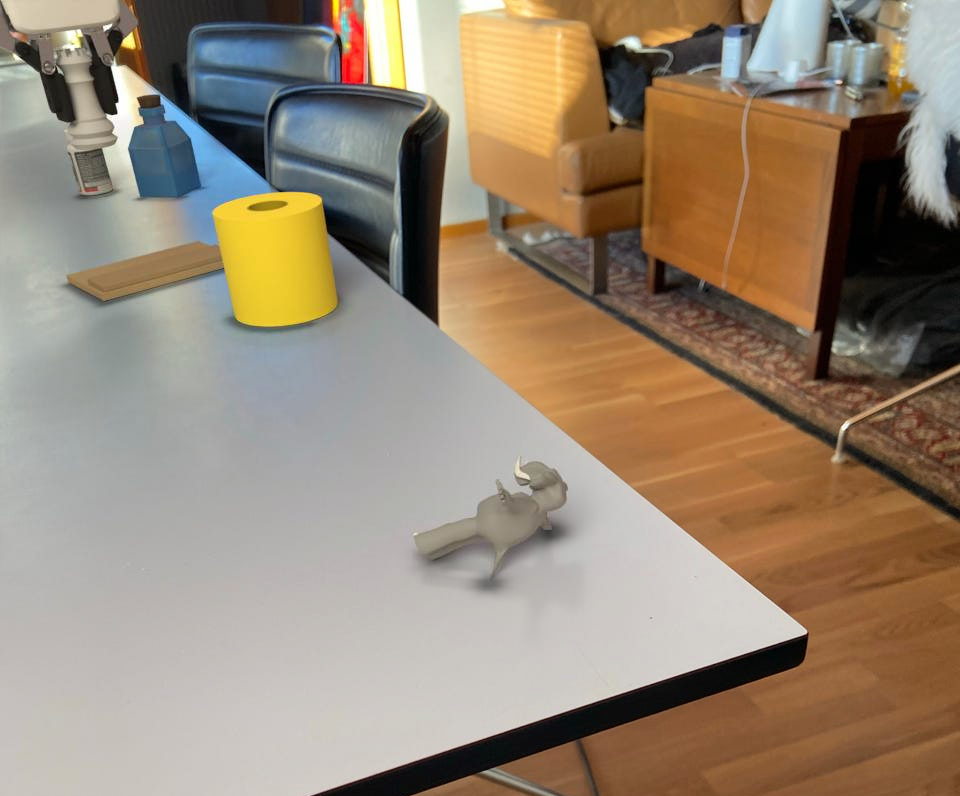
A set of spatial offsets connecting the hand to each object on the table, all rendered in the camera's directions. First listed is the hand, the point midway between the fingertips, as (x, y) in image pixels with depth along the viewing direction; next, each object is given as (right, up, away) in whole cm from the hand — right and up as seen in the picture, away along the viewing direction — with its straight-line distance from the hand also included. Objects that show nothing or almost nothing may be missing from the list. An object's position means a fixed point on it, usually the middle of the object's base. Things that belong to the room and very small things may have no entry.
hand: (87, 115), depth 96 cm
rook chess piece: (0, -2, +2) cm, 3 cm away
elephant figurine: (+38, -45, -37) cm, 70 cm away
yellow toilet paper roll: (+18, -17, +3) cm, 25 cm away
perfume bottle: (-7, +14, +48) cm, 51 cm away
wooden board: (+1, -9, +16) cm, 18 cm away
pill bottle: (-19, +15, +52) cm, 57 cm away
